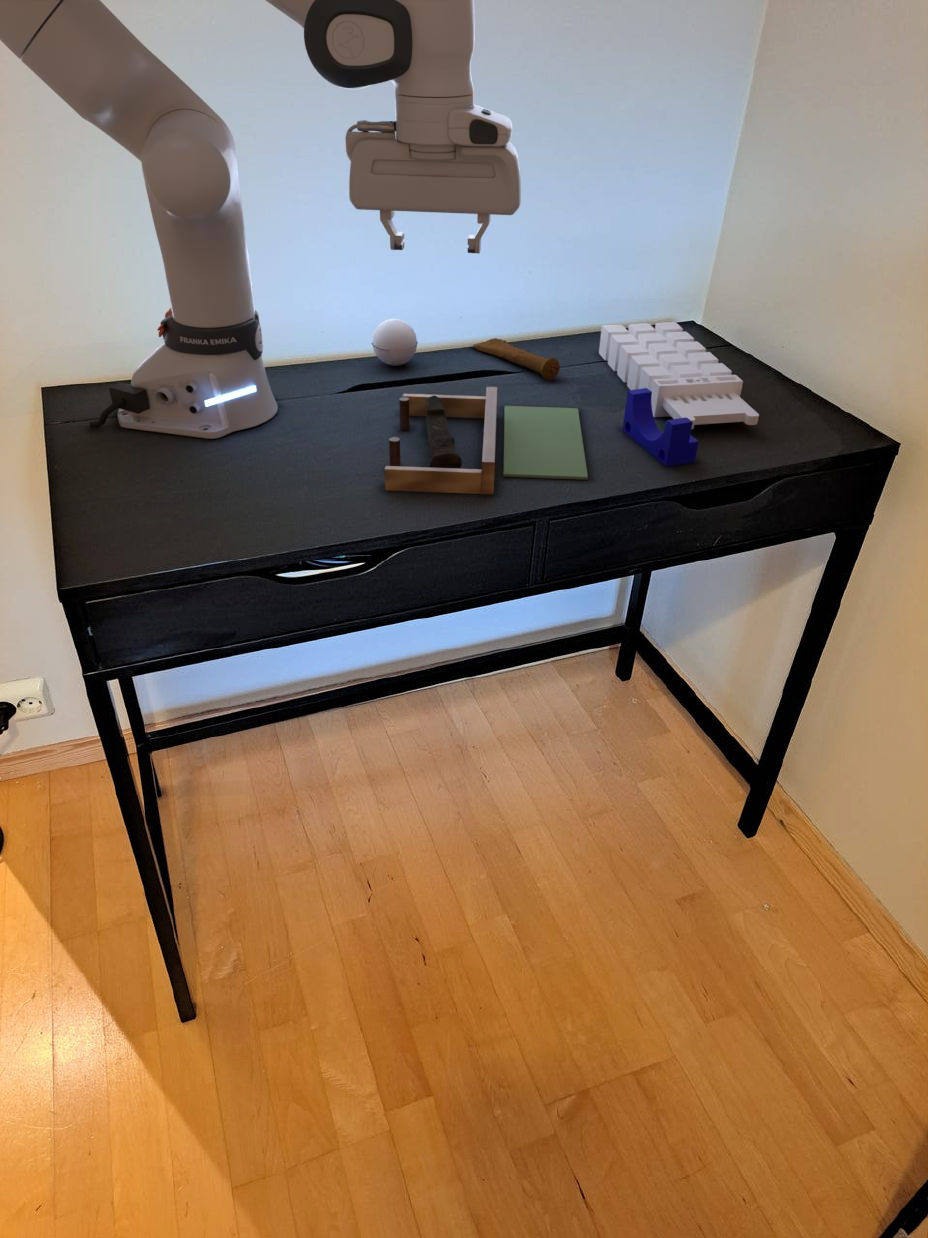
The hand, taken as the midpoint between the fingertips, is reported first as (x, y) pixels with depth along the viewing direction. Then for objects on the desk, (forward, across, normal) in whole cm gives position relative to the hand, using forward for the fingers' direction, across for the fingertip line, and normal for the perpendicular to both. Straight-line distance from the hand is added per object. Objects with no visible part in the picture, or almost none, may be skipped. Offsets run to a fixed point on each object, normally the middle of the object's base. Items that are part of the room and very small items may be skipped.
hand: (435, 250), depth 110 cm
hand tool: (+26, 0, -2) cm, 26 cm away
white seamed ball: (+26, -10, +27) cm, 39 cm away
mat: (+26, +15, +3) cm, 30 cm away
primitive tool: (+26, +8, +32) cm, 42 cm away
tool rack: (+26, +1, -2) cm, 26 cm away
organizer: (+26, +34, +24) cm, 49 cm away
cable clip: (+26, +30, +4) cm, 40 cm away
